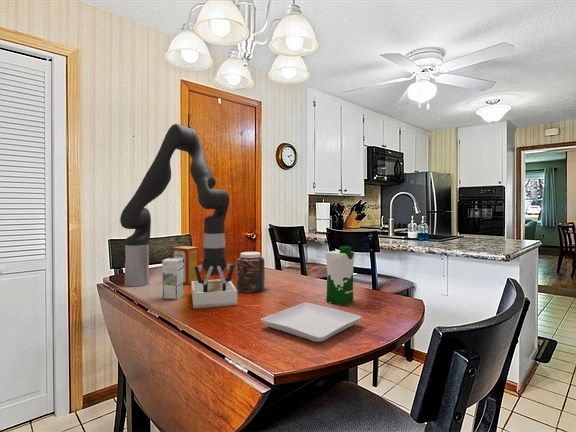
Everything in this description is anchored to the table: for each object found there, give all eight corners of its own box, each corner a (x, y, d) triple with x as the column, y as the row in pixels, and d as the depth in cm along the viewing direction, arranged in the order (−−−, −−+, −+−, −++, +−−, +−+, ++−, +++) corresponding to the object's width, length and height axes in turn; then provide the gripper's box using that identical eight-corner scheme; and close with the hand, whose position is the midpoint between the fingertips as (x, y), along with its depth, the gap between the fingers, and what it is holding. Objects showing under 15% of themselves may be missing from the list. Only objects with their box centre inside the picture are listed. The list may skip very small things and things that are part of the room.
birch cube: (207, 298, 119) (207, 283, 119) (206, 294, 123) (206, 280, 123) (222, 297, 120) (222, 282, 120) (220, 293, 125) (220, 279, 125)
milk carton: (344, 307, 118) (345, 248, 117) (322, 302, 123) (322, 246, 123) (356, 301, 124) (357, 246, 124) (335, 297, 130) (335, 244, 130)
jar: (267, 292, 137) (267, 254, 137) (237, 294, 134) (237, 255, 134) (262, 285, 149) (262, 250, 148) (234, 287, 146) (234, 251, 145)
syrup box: (183, 295, 131) (183, 257, 131) (177, 300, 125) (176, 260, 125) (169, 295, 132) (168, 257, 131) (162, 299, 126) (161, 259, 126)
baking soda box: (172, 282, 154) (172, 246, 153) (184, 279, 159) (184, 245, 159) (187, 285, 149) (187, 248, 148) (198, 282, 154) (198, 246, 154)
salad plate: (321, 350, 83) (321, 336, 83) (258, 329, 97) (258, 317, 97) (363, 327, 99) (363, 315, 99) (304, 312, 113) (305, 301, 113)
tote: (193, 308, 115) (193, 293, 115) (191, 294, 134) (191, 281, 134) (237, 304, 120) (237, 290, 119) (229, 291, 138) (229, 278, 138)
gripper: (233, 244, 127) (233, 290, 128) (192, 245, 123) (192, 293, 123) (236, 246, 120) (236, 295, 120) (193, 247, 116) (193, 298, 116)
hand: (214, 293), depth 122 cm, fingers closed on birch cube, 5 cm apart
